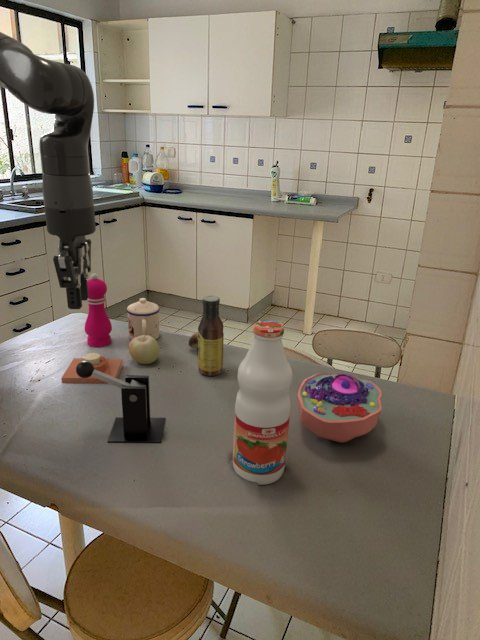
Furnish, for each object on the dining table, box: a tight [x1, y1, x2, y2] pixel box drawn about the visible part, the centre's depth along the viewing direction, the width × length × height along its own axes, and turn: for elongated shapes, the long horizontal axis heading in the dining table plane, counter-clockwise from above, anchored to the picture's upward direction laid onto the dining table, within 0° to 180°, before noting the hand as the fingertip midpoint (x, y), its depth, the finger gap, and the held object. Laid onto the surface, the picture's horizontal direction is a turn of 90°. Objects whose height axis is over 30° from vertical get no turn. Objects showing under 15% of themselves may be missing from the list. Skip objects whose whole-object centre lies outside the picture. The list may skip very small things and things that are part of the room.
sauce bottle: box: [197, 294, 225, 377], centre depth 112 cm, size 7×6×20 cm
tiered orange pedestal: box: [60, 355, 124, 385], centre depth 111 cm, size 12×10×4 cm
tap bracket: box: [107, 374, 166, 444], centre depth 89 cm, size 10×8×12 cm
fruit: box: [128, 334, 160, 365], centre depth 118 cm, size 8×7×8 cm
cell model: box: [296, 372, 383, 444], centre depth 93 cm, size 17×20×11 cm
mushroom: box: [188, 331, 198, 350], centre depth 126 cm, size 8×8×6 cm
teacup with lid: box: [126, 297, 160, 341], centre depth 130 cm, size 12×9×12 cm
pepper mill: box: [84, 272, 113, 348], centre depth 125 cm, size 7×7×20 cm
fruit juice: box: [232, 319, 294, 486], centre depth 78 cm, size 9×9×28 cm
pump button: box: [83, 352, 101, 365], centre depth 110 cm, size 4×4×2 cm
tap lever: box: [76, 361, 146, 389], centre depth 86 cm, size 13×3×3 cm, turn 93°
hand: (78, 303), depth 80 cm, fingers open, 3 cm apart
